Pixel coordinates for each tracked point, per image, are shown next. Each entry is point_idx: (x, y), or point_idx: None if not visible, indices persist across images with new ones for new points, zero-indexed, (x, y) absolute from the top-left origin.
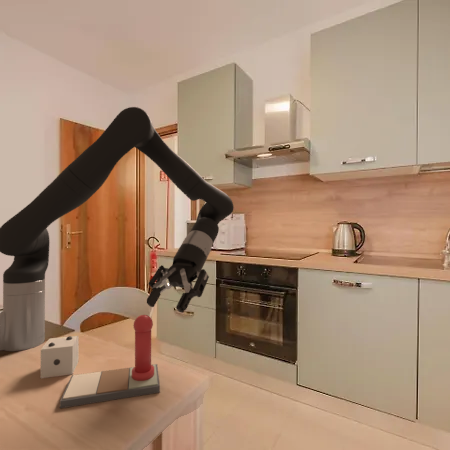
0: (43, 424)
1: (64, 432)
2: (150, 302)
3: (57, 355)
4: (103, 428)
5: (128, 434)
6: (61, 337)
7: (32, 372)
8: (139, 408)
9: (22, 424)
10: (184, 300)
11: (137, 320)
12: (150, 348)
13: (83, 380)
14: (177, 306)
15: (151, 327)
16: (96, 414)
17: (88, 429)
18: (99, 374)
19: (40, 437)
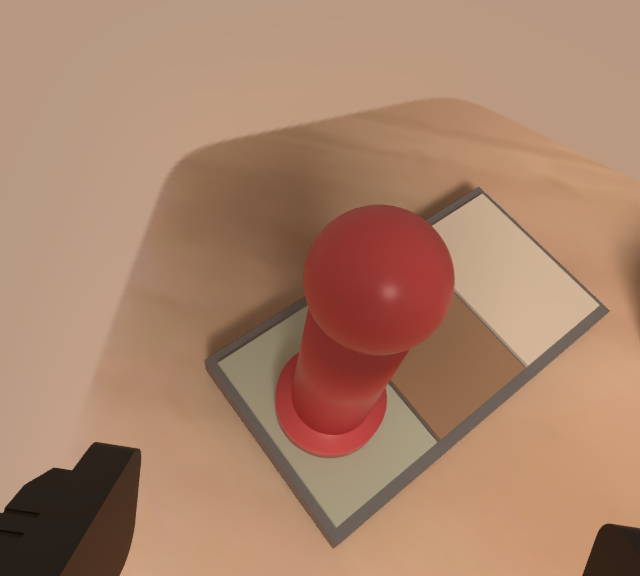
0: (447, 152)
1: (367, 146)
2: (606, 556)
3: None
4: (279, 179)
5: (193, 179)
6: None
7: None
8: (231, 274)
9: (495, 140)
10: (13, 538)
11: (398, 208)
12: (300, 357)
13: (527, 289)
14: (119, 447)
15: (304, 292)
16: None
17: (316, 167)
18: (512, 342)
19: (406, 122)
